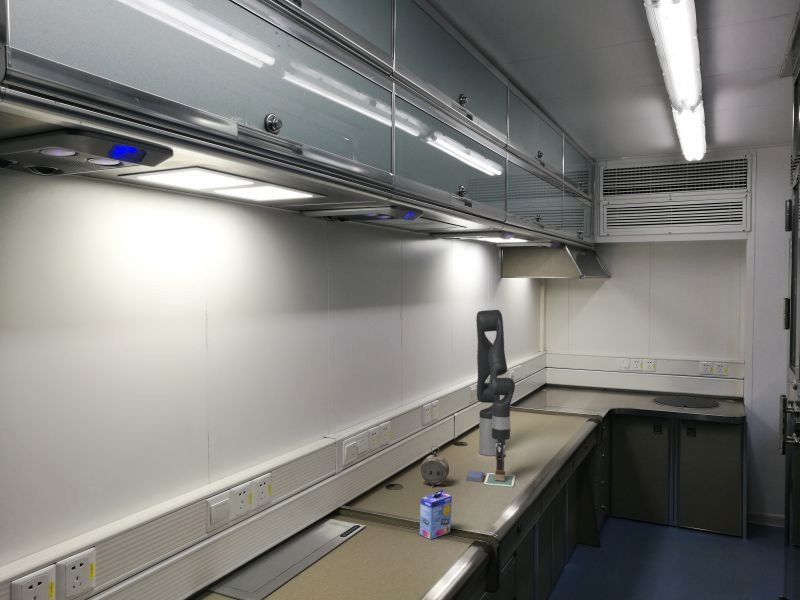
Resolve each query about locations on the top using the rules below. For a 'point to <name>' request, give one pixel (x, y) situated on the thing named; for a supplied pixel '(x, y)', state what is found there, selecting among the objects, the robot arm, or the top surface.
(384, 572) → the top surface
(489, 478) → the green white framed board
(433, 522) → the ink cartridge box
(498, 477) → the stamp
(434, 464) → the alarm clock
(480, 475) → the ink pad
